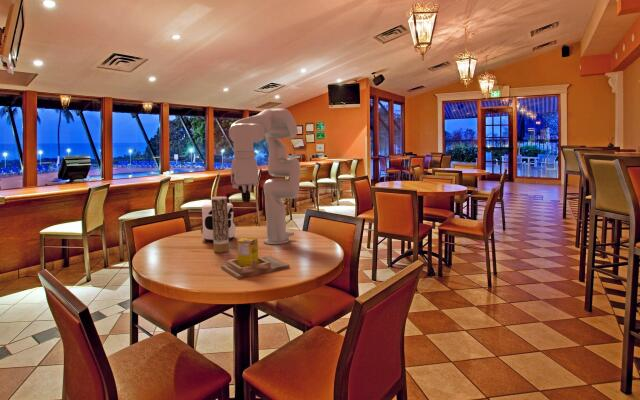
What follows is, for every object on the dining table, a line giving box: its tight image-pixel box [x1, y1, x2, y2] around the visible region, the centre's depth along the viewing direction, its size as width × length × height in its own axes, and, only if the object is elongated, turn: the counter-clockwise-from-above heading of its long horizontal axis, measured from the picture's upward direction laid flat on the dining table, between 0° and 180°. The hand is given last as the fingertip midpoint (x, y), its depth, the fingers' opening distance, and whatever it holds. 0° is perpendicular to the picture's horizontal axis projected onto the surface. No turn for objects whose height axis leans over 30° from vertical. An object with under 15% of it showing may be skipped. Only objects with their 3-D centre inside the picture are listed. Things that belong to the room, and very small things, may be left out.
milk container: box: [200, 202, 237, 242], centre depth 204 cm, size 17×17×18 cm
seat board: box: [220, 255, 290, 280], centre depth 157 cm, size 22×16×3 cm
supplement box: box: [236, 236, 259, 267], centre depth 155 cm, size 6×6×11 cm
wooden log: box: [211, 196, 230, 254], centre depth 181 cm, size 7×7×25 cm
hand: (246, 201), depth 158 cm, fingers closed
